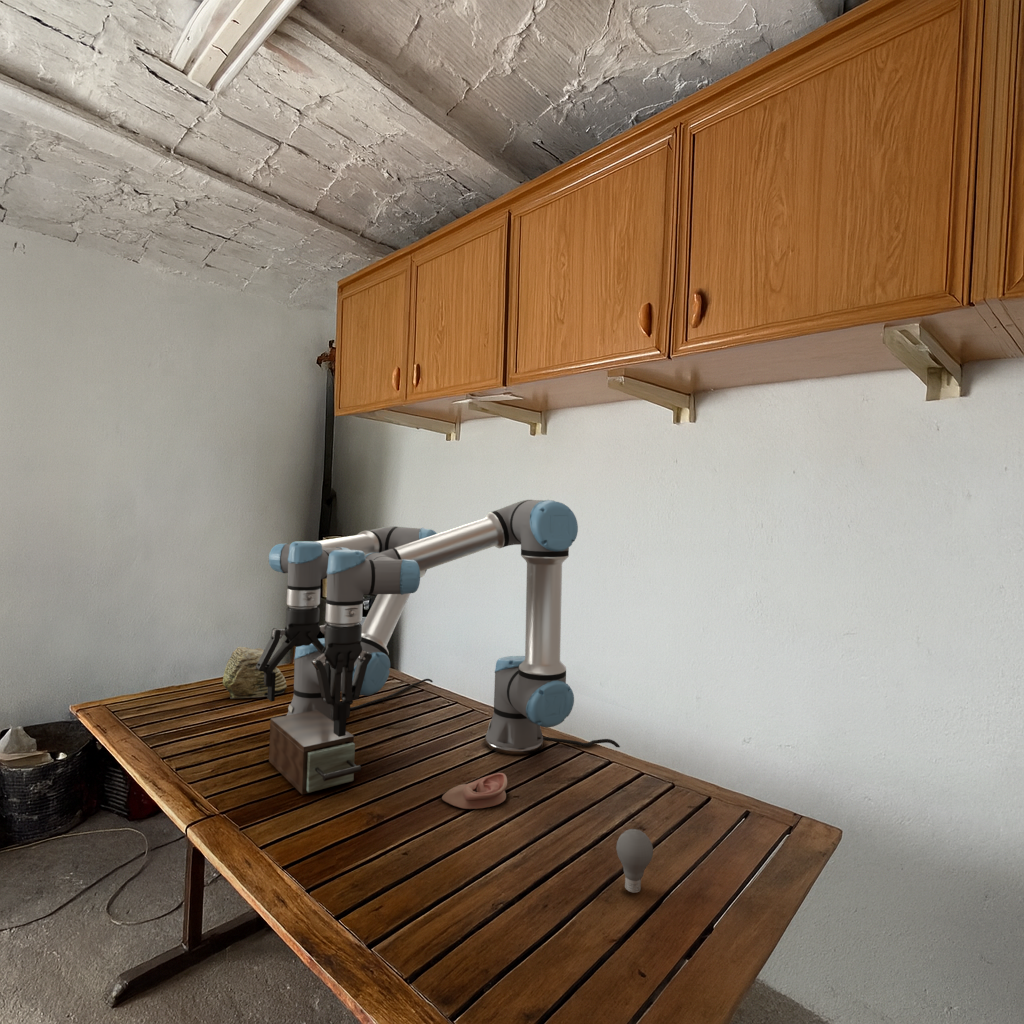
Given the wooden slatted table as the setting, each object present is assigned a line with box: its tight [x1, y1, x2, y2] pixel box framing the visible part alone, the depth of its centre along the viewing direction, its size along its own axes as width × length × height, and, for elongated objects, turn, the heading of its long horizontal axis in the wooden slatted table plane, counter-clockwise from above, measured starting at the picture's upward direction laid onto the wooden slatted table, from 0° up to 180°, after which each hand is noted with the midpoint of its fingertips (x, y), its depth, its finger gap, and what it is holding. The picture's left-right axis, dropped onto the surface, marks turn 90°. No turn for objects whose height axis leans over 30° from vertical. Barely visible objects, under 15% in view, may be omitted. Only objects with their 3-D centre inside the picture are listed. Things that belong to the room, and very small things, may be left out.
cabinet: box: [268, 710, 355, 796], centre depth 146 cm, size 21×11×10 cm, turn 40°
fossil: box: [222, 646, 288, 699], centre depth 198 cm, size 9×18×15 cm, turn 132°
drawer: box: [306, 742, 362, 794], centre depth 142 cm, size 25×10×8 cm, turn 40°
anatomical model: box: [441, 772, 508, 810], centre depth 136 cm, size 13×4×12 cm
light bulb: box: [615, 828, 654, 894], centre depth 106 cm, size 6×6×10 cm
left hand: (299, 695), depth 151 cm, fingers open, 13 cm apart
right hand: (339, 733), depth 134 cm, fingers closed
